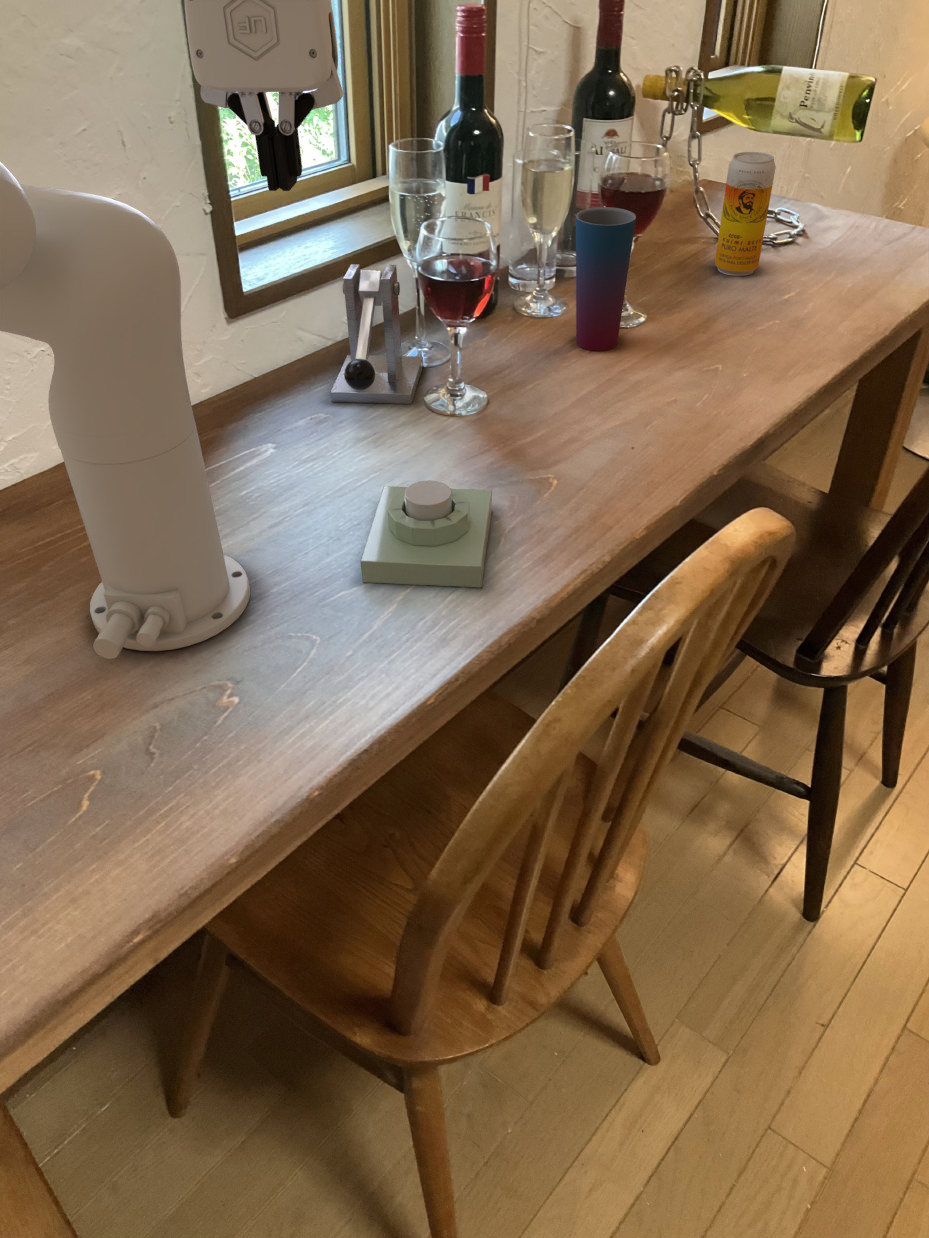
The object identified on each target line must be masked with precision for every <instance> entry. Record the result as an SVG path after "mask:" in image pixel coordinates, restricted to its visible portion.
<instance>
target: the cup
mask: <svg viewBox="0 0 929 1238" xmlns="http://www.w3.org/2000/svg"><path fill="white" fill-rule="evenodd" d="M636 223H637V215H636V213H634V212H633V211H630V210H628V209H624V208H619V207H613V206H612V207H609V206H598V207H590V208H585V209H582V210H580V211H578V212H577V213H576V214H575V316H576V317H575V339H576V340H575V341H576V345H577V346H578V347H579V348H581V349H584V350H587V351H592V352H603V351H610V350H612V349H614V348H615V347H617V345H618V340H619V334H620V328H621V321H622V315H623V307H624V301H625V295H626V288H627V281H628V275H629V268H630V262H631V256H632V248H633V241H634V235H635V228H636Z"/></svg>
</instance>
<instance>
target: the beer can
mask: <svg viewBox="0 0 929 1238" xmlns="http://www.w3.org/2000/svg"><path fill="white" fill-rule="evenodd" d="M776 168H777V167H776V163H775V156H774V155H772V154H769V153H765V152H760V151H743V152H737V153H734V154H733V156H732V159H731V160H730V162H729V164H728V169H727V176H726V182H725V190H724V196H723V203H722V210H721V218H720V224H719V230H718V236H717V237H718V238H717V244H716V251H715V252H716V253H715V256H714V257H715V258H714V265H715V267H716V268H717V271H718V272H719V273H721V274H723V275H725V276H732V277H733V276H734V277H744V276H749V275H752V274H753V273H754V271H755V270H757V269H758V267H759V265H760V258H761V253H762V248H763V243H764V236H765V231H766V225H767V220H768V219H767V218H768V212H769V207H770V202H771V197H772V196H771V195H772V191H773V185H774V179H775V174H776Z"/></svg>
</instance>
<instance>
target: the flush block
mask: <svg viewBox="0 0 929 1238" xmlns="http://www.w3.org/2000/svg"><path fill="white" fill-rule="evenodd" d="M407 487H408V486H393V485H391V486H390V485H384V486H383V488H382V490H381V494H380V497H379V501H378V504H377V506H376V510H375V513H374V517H373V520H372V523H371V525H370V528H369V533H368V536H367V539H366V542H365V545H364V549H363V551H362V555H361V558H360V571H361V580H362V582H363V583H371V584H372V583H374V584H375V583H376V584H394V585H414V586H439V587H459V588H482V584H483V578H484V577H483V576H484V569H485V564H486V563H485V562H486V557H487V556H486V555H487V549H488V541H489V533H490V526H491V519H492V512H493V490H492V489H476V488H474V489H472V488H452V487H450V489H451V492H452V511H451V513H450V515H448V516H447V517H445V518H442V519H438V520H434V521H421V520H416V519H413V518H411V517H409V516H408V515H407V514H406V511H405V495H404V493H405V490H406V489H407Z"/></svg>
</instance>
